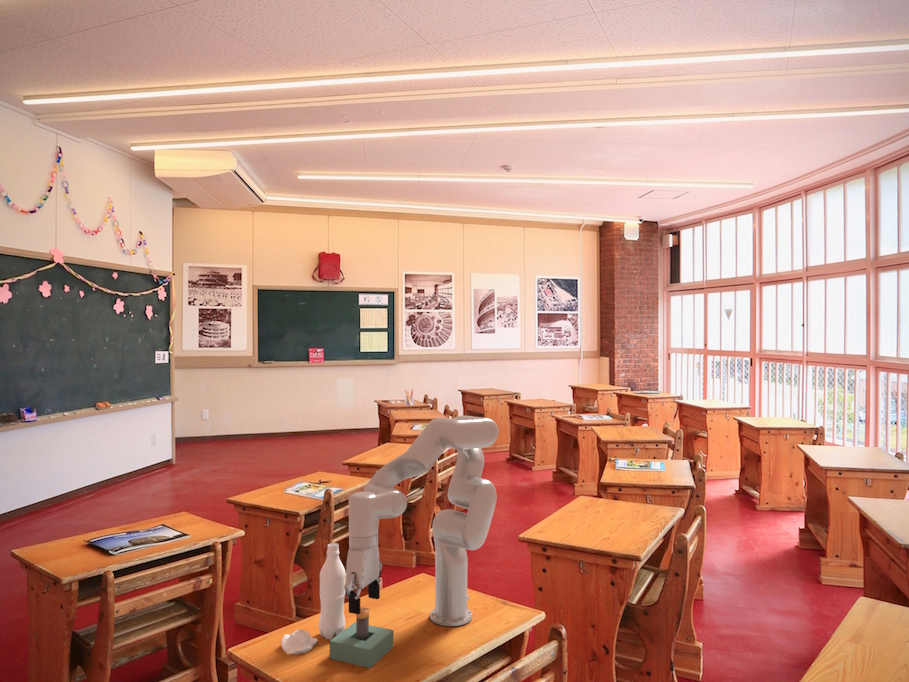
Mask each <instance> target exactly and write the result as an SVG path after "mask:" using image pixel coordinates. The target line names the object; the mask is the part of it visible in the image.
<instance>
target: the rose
mask: <svg viewBox="0 0 909 682" xmlns="http://www.w3.org/2000/svg"><path fill="white" fill-rule="evenodd" d="M318 641H319V640H318V638H317V637H311V634H310V633H309V631H307V630H304V629H298V630H295V631H294V632H290V634H288V633H286V634H284V635H283V637H282V638H281V648H282V650H283V651H284V653H285V652H286V653H287V654H286V653H285V654H286V655H288V654H294V655H302V654H301V653H303V654H306V653H309V652H311V651H310V650H311V649H313V648H314V647H315V646H316V644H317V643H318ZM314 645H315V646H314ZM313 646H314V647H313ZM308 651H309V652H308ZM305 652H306V653H305Z"/></svg>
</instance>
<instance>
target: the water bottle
mask: <svg viewBox="0 0 909 682" xmlns="http://www.w3.org/2000/svg"><path fill="white" fill-rule="evenodd" d="M339 550H340V549H339V543H336V542H331V543H328V544H327V548H326V559H325V560H324V561H325V562H324V563H323V565H322V567H321V569H320V571H319V597H320V598H319V599H320V600H319V601H320V616H319V621H318V622H319V623H318V630H319V634H320V636H321V637H323V638H325V639H326V640H332V639H333V638H334V637H336V636H337V635H338V634H340V633H341V632H342V631H344V630H345V629H346V619H345V606H344V605H345V595H346V591H345V589H344V585H345V583H346V569H345V566H344V565H343V563H342V561H341V558H340V556H339V555H340V551H339Z"/></svg>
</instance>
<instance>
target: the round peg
mask: <svg viewBox="0 0 909 682" xmlns="http://www.w3.org/2000/svg"><path fill="white" fill-rule="evenodd" d="M360 611H361V612H360V614H355V617H356V620H355V622H356V639H359V640H363V641H366V640H367V639H368V638H369V625H370V622H369V621H370V619H369V618H370V608H368V607H360Z"/></svg>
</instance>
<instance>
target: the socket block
mask: <svg viewBox="0 0 909 682" xmlns="http://www.w3.org/2000/svg"><path fill="white" fill-rule="evenodd" d="M393 648H394V629H391V628H390V629H389V628H385V627H382V626H381V627H379V626H375V625H370V624H369V638H368V639H367V640H366V641H363V640H359V639H356V621H355V622H353V623H352V624H350V625H349V626H348V627H345V629H344V631H342V632H341V633H340V634H338V635H337V636H336V635H335V636H333V638H332V639H329V659H330V660H334V661H339V662H343V663H347V664H351V665H356V666H360V667H363V668H364V667H365V668H368V669H371V668H372V667H373V666H375V664H377V663H378V662H379V661H380V660H381V659H382V658H383V657H384V656H385V655H386V654H387V653H389V652H390V651H391V650H392V649H393Z"/></svg>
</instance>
